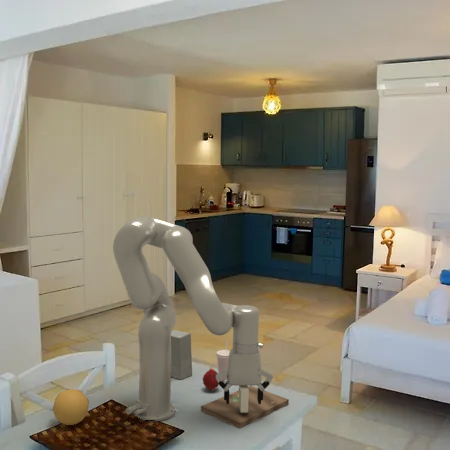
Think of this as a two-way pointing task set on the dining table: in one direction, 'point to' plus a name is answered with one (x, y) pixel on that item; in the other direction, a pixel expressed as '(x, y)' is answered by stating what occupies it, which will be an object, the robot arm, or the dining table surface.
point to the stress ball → (70, 407)
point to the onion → (210, 379)
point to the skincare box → (181, 354)
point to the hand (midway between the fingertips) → (243, 402)
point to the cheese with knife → (243, 399)
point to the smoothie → (223, 360)
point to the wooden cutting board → (255, 410)
